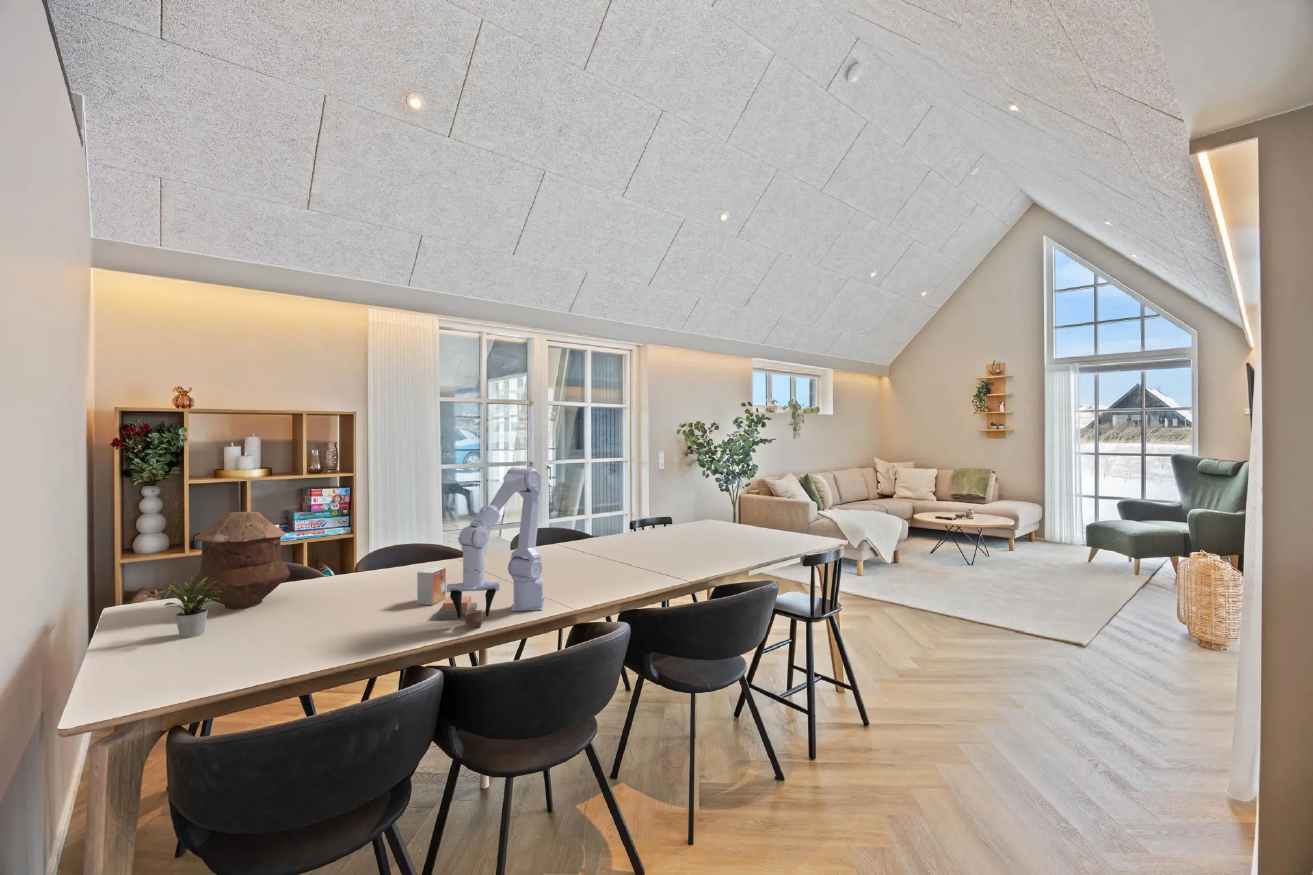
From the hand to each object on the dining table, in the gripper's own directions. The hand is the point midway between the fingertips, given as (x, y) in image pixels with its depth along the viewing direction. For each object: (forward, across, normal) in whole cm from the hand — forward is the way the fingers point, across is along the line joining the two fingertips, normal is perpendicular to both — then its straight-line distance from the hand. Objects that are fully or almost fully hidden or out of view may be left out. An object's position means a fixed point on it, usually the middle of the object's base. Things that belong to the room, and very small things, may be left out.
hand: (473, 616), depth 167 cm
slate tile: (+3, -7, +12) cm, 14 cm away
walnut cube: (+3, 0, 0) cm, 3 cm away
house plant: (+3, -76, +2) cm, 76 cm away
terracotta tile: (+1, -7, +12) cm, 14 cm away
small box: (+3, -18, +27) cm, 33 cm away
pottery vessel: (+3, -78, +32) cm, 84 cm away
